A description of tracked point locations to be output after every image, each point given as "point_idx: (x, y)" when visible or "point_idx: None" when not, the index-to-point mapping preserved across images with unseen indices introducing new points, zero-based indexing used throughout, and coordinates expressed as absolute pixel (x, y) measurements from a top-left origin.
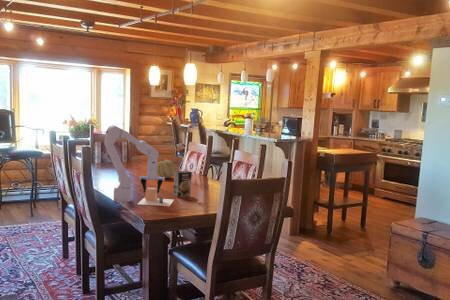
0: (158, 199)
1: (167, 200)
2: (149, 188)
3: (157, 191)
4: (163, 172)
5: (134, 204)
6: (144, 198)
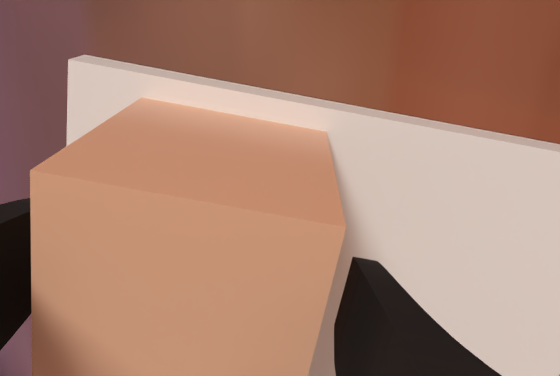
0: (355, 190)
1: (509, 256)
2: (116, 333)
3: (341, 360)
4: None
5: (15, 363)
6: (92, 128)
